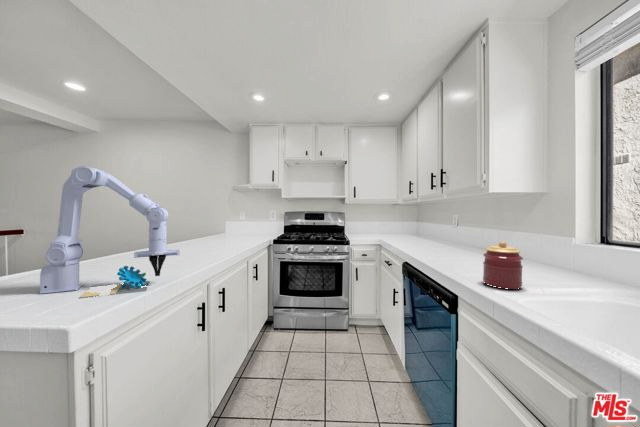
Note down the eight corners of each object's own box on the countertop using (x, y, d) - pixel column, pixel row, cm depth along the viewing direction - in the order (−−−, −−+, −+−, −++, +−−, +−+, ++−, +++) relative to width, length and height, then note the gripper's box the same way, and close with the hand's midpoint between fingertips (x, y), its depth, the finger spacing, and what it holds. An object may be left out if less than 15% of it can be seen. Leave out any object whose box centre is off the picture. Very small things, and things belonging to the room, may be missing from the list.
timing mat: (78, 300, 84) (78, 298, 84) (91, 287, 97) (91, 286, 97) (146, 292, 93) (146, 290, 93) (149, 282, 106) (149, 280, 106)
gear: (129, 287, 91) (114, 265, 93) (117, 299, 91) (102, 277, 93) (154, 283, 101) (140, 263, 103) (143, 294, 102) (130, 274, 104)
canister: (479, 285, 105) (480, 241, 105) (486, 279, 115) (487, 238, 115) (520, 292, 97) (521, 244, 96) (524, 285, 106) (525, 241, 106)
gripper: (133, 241, 93) (132, 280, 94) (179, 239, 100) (179, 275, 101) (135, 239, 100) (135, 275, 100) (179, 238, 107) (179, 271, 107)
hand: (157, 275), depth 101 cm, fingers closed
